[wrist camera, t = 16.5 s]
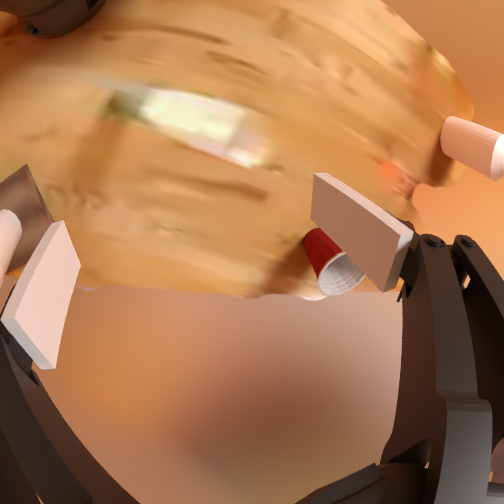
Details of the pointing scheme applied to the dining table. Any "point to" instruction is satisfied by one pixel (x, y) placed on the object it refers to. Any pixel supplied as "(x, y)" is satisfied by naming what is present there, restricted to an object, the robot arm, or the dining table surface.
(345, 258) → the plastic cup
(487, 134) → the bottle
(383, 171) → the dining table surface
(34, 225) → the walnut plinth
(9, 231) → the foam cup
